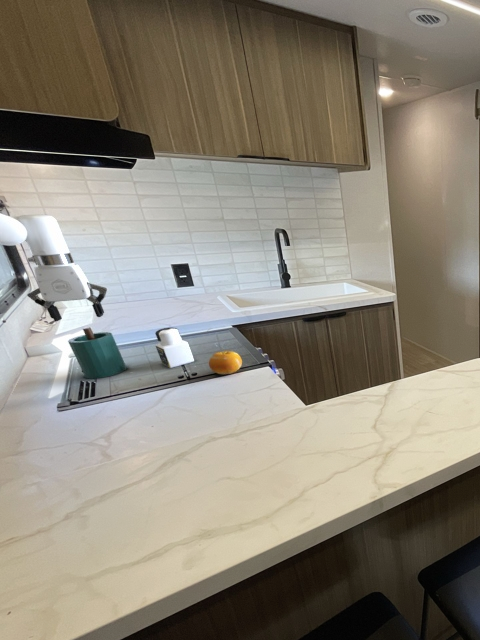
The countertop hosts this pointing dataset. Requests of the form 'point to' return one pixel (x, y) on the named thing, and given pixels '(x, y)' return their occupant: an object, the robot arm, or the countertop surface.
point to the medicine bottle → (172, 348)
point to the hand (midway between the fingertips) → (79, 318)
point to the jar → (97, 355)
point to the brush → (89, 333)
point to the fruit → (225, 362)
